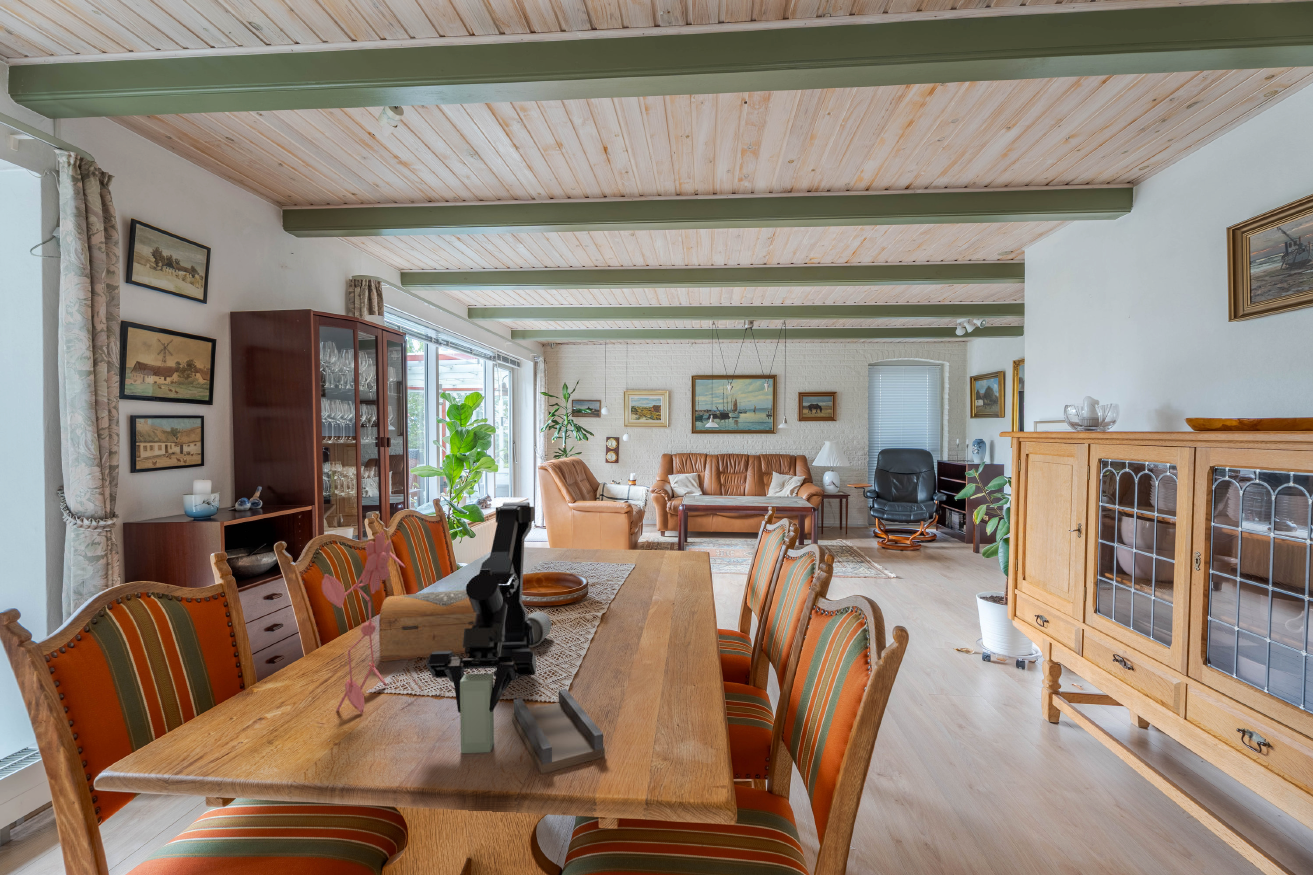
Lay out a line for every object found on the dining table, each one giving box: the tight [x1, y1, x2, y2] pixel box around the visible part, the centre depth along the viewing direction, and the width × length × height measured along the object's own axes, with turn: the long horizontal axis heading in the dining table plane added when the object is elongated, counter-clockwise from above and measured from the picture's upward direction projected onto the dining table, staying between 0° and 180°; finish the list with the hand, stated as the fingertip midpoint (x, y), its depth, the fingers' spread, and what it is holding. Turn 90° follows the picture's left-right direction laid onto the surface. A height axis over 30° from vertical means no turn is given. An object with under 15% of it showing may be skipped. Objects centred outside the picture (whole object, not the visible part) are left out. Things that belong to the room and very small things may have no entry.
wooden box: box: [378, 589, 503, 662], centre depth 155 cm, size 30×16×14 cm, turn 103°
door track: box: [511, 688, 606, 775], centre depth 108 cm, size 20×11×4 cm, turn 27°
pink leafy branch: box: [315, 530, 424, 725], centre depth 123 cm, size 15×26×35 cm, turn 0°
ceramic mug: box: [525, 611, 553, 648], centre depth 157 cm, size 11×8×8 cm
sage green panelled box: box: [459, 672, 495, 754], centre depth 104 cm, size 3×5×12 cm, turn 93°
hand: (475, 711), depth 103 cm, fingers closed on sage green panelled box, 5 cm apart
